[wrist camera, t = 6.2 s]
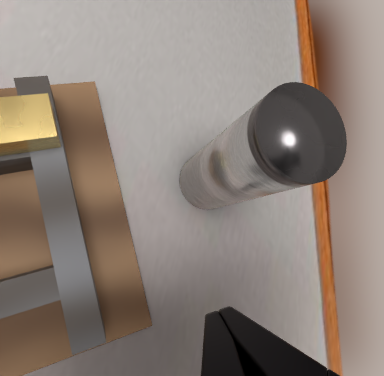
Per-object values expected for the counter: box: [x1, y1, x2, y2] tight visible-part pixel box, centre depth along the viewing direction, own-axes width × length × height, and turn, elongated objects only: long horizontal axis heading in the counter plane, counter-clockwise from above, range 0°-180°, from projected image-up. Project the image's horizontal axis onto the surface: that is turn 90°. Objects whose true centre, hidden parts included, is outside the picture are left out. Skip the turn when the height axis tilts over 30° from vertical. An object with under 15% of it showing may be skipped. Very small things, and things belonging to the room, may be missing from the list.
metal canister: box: [179, 82, 347, 210], centre depth 18 cm, size 5×5×12 cm
